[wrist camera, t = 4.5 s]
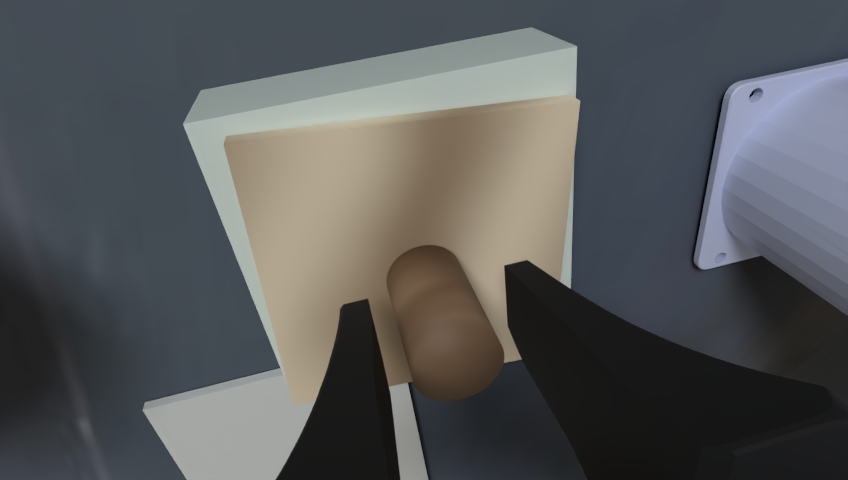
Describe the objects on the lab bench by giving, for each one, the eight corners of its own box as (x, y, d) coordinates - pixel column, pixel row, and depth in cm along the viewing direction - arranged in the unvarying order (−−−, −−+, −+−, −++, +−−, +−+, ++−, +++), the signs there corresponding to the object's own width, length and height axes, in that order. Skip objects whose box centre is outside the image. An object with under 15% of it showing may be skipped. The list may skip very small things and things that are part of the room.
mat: (397, 338, 21) (399, 345, 21) (428, 481, 27) (430, 488, 26) (145, 402, 20) (142, 410, 20) (230, 538, 25) (229, 546, 25)
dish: (527, 25, 16) (576, 46, 13) (532, 278, 22) (569, 331, 19) (202, 86, 15) (182, 123, 12) (294, 338, 21) (294, 404, 18)
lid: (570, 94, 14) (675, 158, 10) (545, 341, 19) (610, 448, 15) (225, 135, 13) (199, 228, 9) (293, 392, 17) (294, 524, 14)
